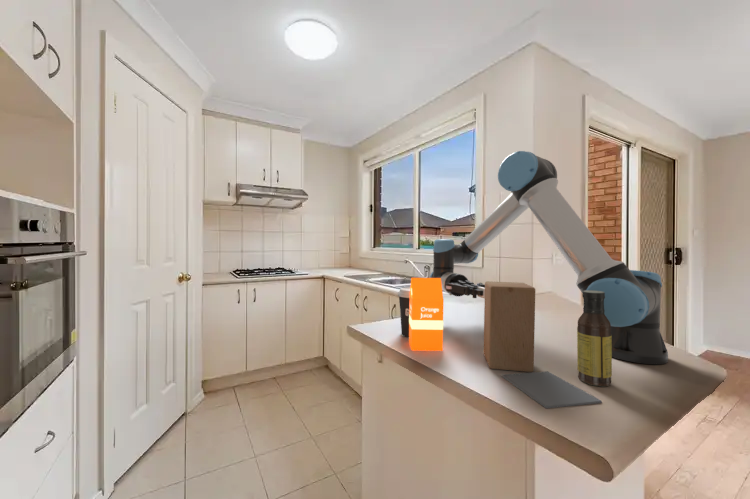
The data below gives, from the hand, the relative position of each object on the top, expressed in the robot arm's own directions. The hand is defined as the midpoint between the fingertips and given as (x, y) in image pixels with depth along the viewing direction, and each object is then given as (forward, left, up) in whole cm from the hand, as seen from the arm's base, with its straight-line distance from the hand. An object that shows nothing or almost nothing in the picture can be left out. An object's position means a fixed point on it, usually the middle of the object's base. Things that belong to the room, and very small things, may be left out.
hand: (491, 295), depth 86 cm
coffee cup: (+22, -14, -16) cm, 31 cm away
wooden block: (-2, +7, -16) cm, 18 cm away
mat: (-7, +20, -16) cm, 27 cm away
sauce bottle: (-18, +15, -16) cm, 29 cm away
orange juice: (+18, -3, -16) cm, 24 cm away
